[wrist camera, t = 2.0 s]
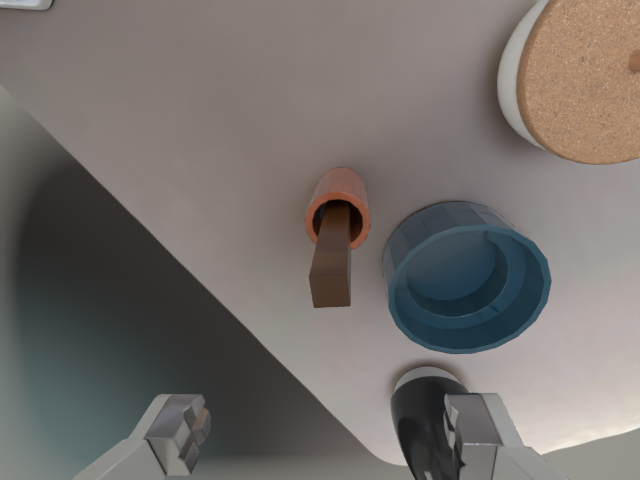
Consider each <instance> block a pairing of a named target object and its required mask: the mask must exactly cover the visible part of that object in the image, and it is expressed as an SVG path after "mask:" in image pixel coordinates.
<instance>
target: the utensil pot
mask: <svg viewBox="0 0 640 480" xmlns="http://www.w3.org/2000/svg"><path fill="white" fill-rule="evenodd" d="M335 199H342V200H345V201H349V202H351V250H352V249H354V248H356V247H358V246H359V245H360V244H361V243H362V242H363V241H364V240H365V239H366V237H367V235H368V232H369V230H370V226H371V224H370V212H369V205H368V199H367V192H366V186H365V183H364V181H363V179H362V178H361V176H360V175H359V174H358V173H357V172H355V171H353V170H352V169H349V168H344V167H338V168H334V169H331V170H329V171H327V172H326V173H325V174H324V175H323V176H322V177H321V178H320V180H319V181H318V183H317V186H316V189H315V191H314V194H313V197H312V199H311V202H310V204H309V207H308V210H307V214H306V217H305V225H306V231H307V233H308V235H309V237H310V238H311V240H312V241H313V242H314V243H315V244H317V240H318V236H319V232H320V227H321V223H322V219H323V214H324V210H325V206H326V202H327V201H329V200H335Z"/></svg>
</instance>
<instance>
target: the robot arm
mask: <svg viewBox="0 0 640 480" xmlns="http://www.w3.org/2000/svg"><path fill="white" fill-rule="evenodd" d="M51 3H52V0H0V8H16V9H31V10H46V9H48V8H49V7H50V5H51ZM444 402H445V406H446V410H445V411H444V428H445V433H446V438H447V441H448V445H449V446H450V447H451V448H452V449H453V464H454V467H455V471H456V475H457V478H458V480H569V479H568V478H567V477H565V476H564V475H563V474H562V473H561V472H559V471H558V470H557V469H556V468H555V467H553V466H552V465H551V464H550V463H549V462H548V461H547V460H545V459H544V458H543V457H542V456H541V455H539V454H538V453H537V452H536V451H535V450H534V449H532V448H531V447H526V446H524V444H523V442H522V440H521V438H520V436H519V434H518V432H517V430H516V428H515V426H514V424H513V422H512V420H511V418H510V416H509V414H508V412H507V409H506V407H505V405H504V403H503V401H502V399H501V397H500V396H499V395H498V394H497V393H446V394H445V399H444ZM204 403H205V401H204V398H203V396H202V395H184V394H160V395H158V396H157V397H155V399H154V400H153V402H152V403H151V405H150V406H149V408H148V410H147V411H146V412H145V414H144V415H143V417H142V418H141V420H140V421H139V423H138V424H137V426H136V427H135V429H134V430H133V432H132V433H131V435H130V437H129V438H128V439H123V440H122V441H121V442H119V443H118V444H117V445H116V446H114V447H113V448H111V449H110V450H109V451H108V452H106V453H105V454H104V455H102V456H101V457H100V458H98V459H97V460H96V461H94V462H93V463H92V464H90V465H89V466H88V467H86V468H85V469H84V470H82V471H81V472H80V473H78V474H77V475H76V476H74V477H73V478H72V479H71V480H164V479H165V478H166V476H170V475H171V476H178V475H179V476H180V475H181V476H186V475H187V476H189V475H191V473H192V471H193V469H194V466H195V464H196V462H197V459H198V457H199V455H200V453H199V448H198V447H199V446H200V445H201V444H202V443H204V441H206V438H207V436H208V433H209V430H210V424H211V418H210V414H209V411H208V410H207V409H206V408H204V407H203V405H204Z"/></svg>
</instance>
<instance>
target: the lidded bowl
mask: <svg viewBox="0 0 640 480" xmlns="http://www.w3.org/2000/svg"><path fill="white" fill-rule="evenodd" d="M497 93H498V100H499V104H500V107H501V110H502V113H503V115H504V116H505V118H506V120H507V122H508V123H509V124H510V125H511V126H512V128H513V129H514V130H515V131H516V132H517V133H518V134H519V135H520V136H522V137H523V138H524V139H526V140H527V141H529V142H530V143H532V144H534V145H536V146H538V147H540V148H542V149H544V150H546V151H549V152H551V153H553V154H555V155H557V156H559V157H561V158H564V159H568V160H571V161H574V162H578V163H584V164H593V165H600V164H614V163H620V162H626V161H629V160H633V159H636V158H639V157H640V0H538V1H537V2H536V3H535V4H534V5H533V6H532V8H531V9H530V10H529V11H528V12H527V13H526V15H525V16H524V17H523V19H522V20H521V21H520V22H519V24H518V25H517V27H516V28H515V30H514V31H513V33H512V35H511V36H510V38H509V40H508V43H507V45H506V47H505V49H504V51H503V55H502V58H501V61H500V64H499V70H498V76H497Z"/></svg>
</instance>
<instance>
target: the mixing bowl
mask: <svg viewBox="0 0 640 480" xmlns="http://www.w3.org/2000/svg"><path fill="white" fill-rule="evenodd" d="M382 261H383V277H384V283H385V289H386V295H387V301H388V306H389V310H390V313H391V315H392V317H393V319H394V321H395V323H396V326H397V327H398V328H399V329H400V330H401V331H402V332H403V333H404V334H405V335H406V336H407V337H408V338H409V339H410V340H412V341H414V342H416V343H418V344H420V345H421V346H423V347H425V348H427V349H430V350H434V351H439V352H444V353H448V354H472V353H477V352H481V351H485V350H489V349H493V348H496V347H499V346H501V345H503V344H505V343H507V342H508V341H510V340H512V339H514V338H516V337H518V336H519V335H520V334H521V333H523V332H524V331H525V330H526V329H527V328H528V327H529V326H530V325H532V324H533V323H534V322H535V321H536V319H537V318H538V316H539V315H540V313H541V311H542V310H543V308H544V307H545V305H546V303H547V301H548V296H549V291H550V286H551V276H550V271H549V267H548V262H547V259H546V258H545V256H544V255H543V254H542V252H541V251H540V250H539V248H538V247H537V246H536V244H535V243H534V242H533V241H532V240H530V239H529V238H528V237H527V236H526V235H524V234H523V233H522V232H521V231H520V230H518V229H517V228H516V227H515V226H513V225H512V224H511V223H510V222H509V221H507V220H506V219H505V218H504V217H502V216H501V215H499V214H498V213H496V212H494V211H493V210H491V209H489V208H488V207H486V206H483V205H479V204H474V203H469V202H465V201H459V202H448V203H440V204H436V205H434V206H431V207H428V208H426V209H423V210H421V211H418V212H416V213H415V214H414V215H412V216H411V217H410V218H408V219H407V220H406V221H404V222H403V223H402V224H401V225H399V227H398V228H397V230H396V231H395V232H394V234H393V235H392V236H391V238H390V239H389V240H388V243H387V246H386V249H385V252H384V256H383V259H382Z"/></svg>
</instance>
